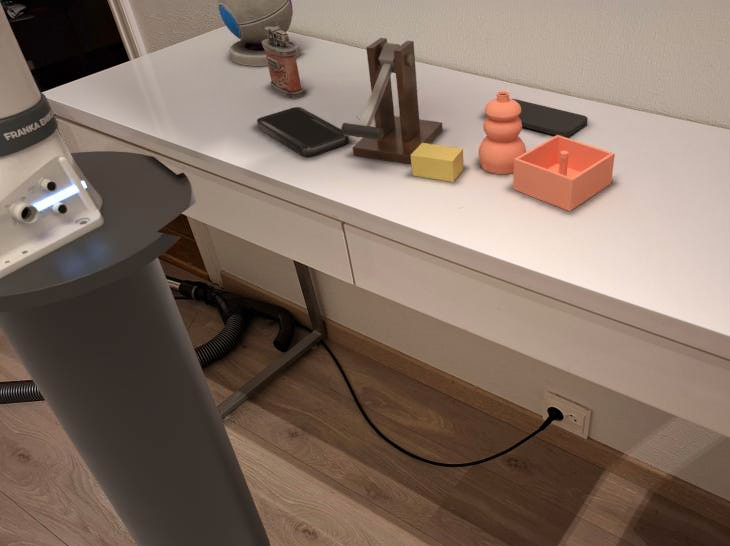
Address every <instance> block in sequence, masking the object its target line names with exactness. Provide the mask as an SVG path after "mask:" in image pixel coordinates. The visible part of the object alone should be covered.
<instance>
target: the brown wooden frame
mask: <svg viewBox="0 0 730 546" xmlns="http://www.w3.org/2000/svg"><path fill="white" fill-rule="evenodd" d="M385 43H388V39H387V38H386V37H380V38H378V39H377V40H375V41H373V42H372V43H370V44H369V45H368V46H366V47H365V48H366V56H367V65H368V73H369V82H370V83H369V84H370V91H371V92H370V93H372V91H373V89H374V86H375V84H376V81H377V79H378V76H379V74H380V71H381V69H382V66H381V64H380V62H379V56H380V54H381V51H382V49H383V46H384V44H385ZM394 59H395V70H396V73H395V80H396V81H395V82H396V90H397V102H398V113H399V116H398V115H395V109H394V108H395V107H394V96H393V87H392V78H391V77H392V76H390V78H389V81H388V83H387V86H386V88H385V91H384V93H383V96H382V99H381V101H380V104H379V106H378V109H377V111H376V114H375V116H374V125H375V126H374V127H379V128H382V129H383V130H384V137H383V139H382V140H374V139H367V138H361V139H360V140H358V142H357V143H355V144H354V145H353V146H352V153H353V156H355V157H360V158H368V159H374V160H378V161H379V160H381V161H387V162H393V163H399V164H407V165H411V154H412V153H413V152H414V151H415V150H416V149H417V148H418V147H419V146H420V145H421V144H422V143H428V144H432V143H433V142H434V141H435V140H436V138H437V137H438V136H439V135H440V134H442V133H443V131H444V130H443V122H442V121H436V120H435V121H434V120H427V119H421V118H420V112H419V97H418V85H417V70H416V56H415V42H414V40H405V41H404V42H403V43H402V44H400V46H399V47H398V48H397V49H395V50H394Z"/></svg>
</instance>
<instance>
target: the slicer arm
mask: <svg viewBox="0 0 730 546" xmlns="http://www.w3.org/2000/svg"><path fill="white" fill-rule="evenodd" d="M399 46H401V44H399V43H390V42H387V43H385V44H384V46H383V49H382V51H381V54H380V56H379V62H380V64H381V66H382V69H381V71H380V74H379V76H378V79H377V81H376V84H375V86H374V89H373V91H372V92H371V94H370V95H369V96H370V97H369V99H368V102H367V104H366V106H365V109H364V111H363V114H362V116H361V119H360V122H359V124H356V123H351V122H343V123H342V124H341V127H340V129H341V132H342V134H343V135H347V136H348V137H354V138H361V139H362V138H367V139H374V140H382V139H383V137H384V130H383V129H382V128H379V127H376V126H372V124H373V121H374V120H375V117H374V116H375V114H376V111H377V109H378V106H379V104H380V101H381V99H382V96H383V93H384V91H385V88H386V86H387V83H388V81H389V78H390V76H391V75H392V74H396V70H395V59H394V50H395V49H397V48H398V47H399ZM391 77H392V76H391Z"/></svg>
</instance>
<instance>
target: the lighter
mask: <svg viewBox="0 0 730 546" xmlns="http://www.w3.org/2000/svg"><path fill="white" fill-rule="evenodd" d="M265 32H266V35H267V38H268V39H265V40H263V41H262V46H263V48H264V49H265V54H266V59H267V63H268V65H267V68H268V72H269V76H270V86H271V89H272V90H273V91H274V92H275V93H278V94H279V95H282V96H284V97H287V98H290V99H298V98H301V97H304V95H305V93H304V88H303V87H302V83H301V78H300V72H299V67H298V63H297V57H296V56H295V54H296V50H295V47H294V46H292V45H291V44H289V43H287V42H290V37H289V33H287V32H284V31H281V30H280V28H279V27H278V26H277V27H266V28H265Z"/></svg>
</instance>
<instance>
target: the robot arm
mask: <svg viewBox="0 0 730 546" xmlns="http://www.w3.org/2000/svg"><path fill="white" fill-rule="evenodd" d="M70 153H71V152H70V150H69V149H68V147H67V145H66V143H65V141H64V139H63V138H62V136H61V133H60V132H59V122H58V120H57V117H56V116H55V113H54V110H53V109H52V107H51V105H50V102H49V101H48V98H47V96H46V95H45V94H44V93H43V92H42V91H40V89H39V88H38V85H37V83H36V81H35V79H34V76H33V74H32V72H31V70H30V68H29V65H28V63H27V61H26V58H25V56H24V54H23V52H22V49H21V47H20V45H19V42H18V39H16V36H15V34H14V31H13V29H12V26H11V24H10V22H9V20H8V18H7V15H6V13H5V10H4V8H3V5H2V3H1V2H0V278H3V277H4V276H6V275H8V274H10V273H12V272H14V271H16V270H18V269H20V268H22V267H24V266H26V265H27V264H29V263H31V262H33V261H35V260H37V259H39V258H41V257H43V256H45V255H47V254H48V253H50V252H52V251H54V250H56V249H58V248H60V247H62V246H64V245H66V244H67V243H69V242H71V241H73V240H75V239H77V238H79V237H81V236H83V235H85V234H87V233H88V232H90V231H92V230H94V229H96V228H98V227H100V226H101V225H103V224H104V218H103V216H102V215H101V213H100V211H101V207H102V203H103V201H102V197H101V196H100V195H99V193H98V192H97V191H96V190H95V189H94V188H93V186H92V185H91V184H90V183H89V181H88V180H87V179H86V177H85V176H84V174H83V173H82V171H81V170H80V168H79V167H78V165H77V164H76V162H75V161H74V159H73V157H72V156H71V154H70Z"/></svg>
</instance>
